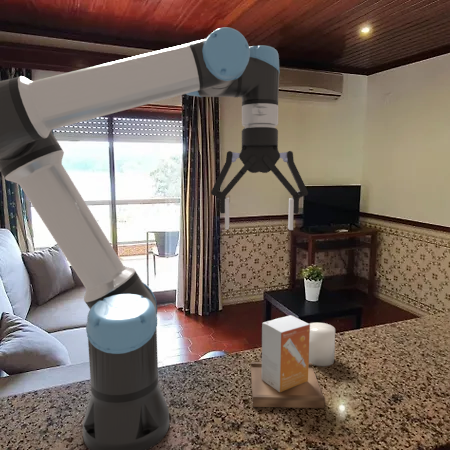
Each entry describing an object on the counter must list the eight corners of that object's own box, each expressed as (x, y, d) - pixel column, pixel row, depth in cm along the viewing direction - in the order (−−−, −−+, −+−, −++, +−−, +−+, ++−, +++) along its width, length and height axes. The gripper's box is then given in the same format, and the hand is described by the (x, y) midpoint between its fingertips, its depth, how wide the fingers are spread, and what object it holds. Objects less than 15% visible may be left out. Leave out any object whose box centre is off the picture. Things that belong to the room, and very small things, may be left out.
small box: (280, 393, 79) (280, 332, 77) (260, 379, 84) (261, 322, 83) (309, 381, 83) (310, 323, 82) (289, 369, 89) (290, 314, 87)
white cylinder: (307, 366, 93) (308, 334, 92) (301, 348, 102) (302, 318, 101) (337, 366, 93) (338, 334, 92) (328, 348, 102) (329, 319, 101)
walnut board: (252, 406, 77) (252, 396, 77) (250, 370, 91) (250, 362, 91) (324, 407, 77) (324, 398, 77) (311, 371, 91) (311, 362, 90)
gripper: (197, 126, 78) (198, 231, 81) (324, 125, 77) (320, 232, 80) (202, 129, 86) (203, 225, 89) (317, 129, 84) (314, 226, 87)
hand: (258, 229), depth 84 cm, fingers open, 13 cm apart
